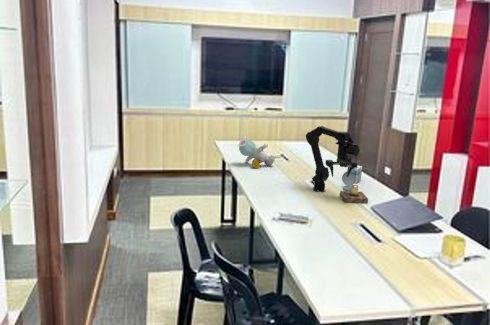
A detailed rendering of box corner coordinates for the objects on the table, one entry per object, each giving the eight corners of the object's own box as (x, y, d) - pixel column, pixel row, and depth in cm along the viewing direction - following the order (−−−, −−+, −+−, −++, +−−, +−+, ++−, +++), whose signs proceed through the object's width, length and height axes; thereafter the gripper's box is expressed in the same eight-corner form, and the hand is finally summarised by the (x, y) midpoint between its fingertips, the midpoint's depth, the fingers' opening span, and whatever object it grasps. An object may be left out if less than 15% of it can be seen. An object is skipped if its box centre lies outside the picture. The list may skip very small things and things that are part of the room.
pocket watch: (356, 171, 304) (362, 177, 290) (354, 186, 307) (360, 193, 292) (341, 170, 304) (347, 176, 289) (340, 186, 307) (345, 193, 292)
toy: (284, 148, 338) (251, 127, 330) (278, 167, 328) (244, 147, 320) (263, 163, 364) (232, 145, 356) (257, 182, 354) (225, 163, 346)
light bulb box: (356, 183, 314) (358, 168, 311) (347, 182, 317) (348, 167, 314) (361, 180, 323) (362, 165, 320) (352, 178, 326) (353, 164, 323)
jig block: (344, 202, 273) (345, 198, 272) (339, 195, 286) (340, 190, 286) (367, 203, 273) (368, 198, 272) (361, 196, 287) (362, 191, 286)
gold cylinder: (350, 200, 278) (352, 186, 276) (349, 198, 282) (350, 184, 279) (357, 200, 278) (359, 186, 276) (355, 198, 282) (357, 184, 280)
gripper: (329, 154, 268) (327, 179, 272) (361, 156, 269) (358, 181, 273) (326, 150, 279) (324, 174, 283) (356, 152, 280) (353, 176, 283)
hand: (339, 176), depth 280 cm, fingers open, 9 cm apart
